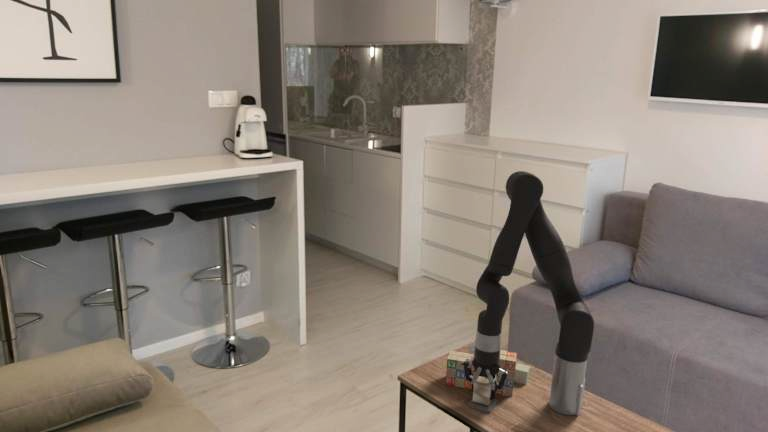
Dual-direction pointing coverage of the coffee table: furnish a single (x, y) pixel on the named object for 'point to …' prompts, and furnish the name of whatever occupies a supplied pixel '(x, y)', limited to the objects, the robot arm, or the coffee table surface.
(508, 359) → the stack of blocks
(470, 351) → the grey capsule
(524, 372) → the sage green block
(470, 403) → the charcoal pad
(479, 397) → the cream block
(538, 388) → the coffee table surface
